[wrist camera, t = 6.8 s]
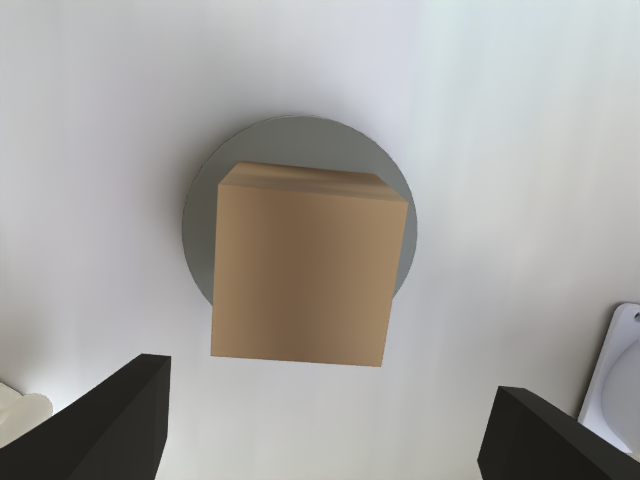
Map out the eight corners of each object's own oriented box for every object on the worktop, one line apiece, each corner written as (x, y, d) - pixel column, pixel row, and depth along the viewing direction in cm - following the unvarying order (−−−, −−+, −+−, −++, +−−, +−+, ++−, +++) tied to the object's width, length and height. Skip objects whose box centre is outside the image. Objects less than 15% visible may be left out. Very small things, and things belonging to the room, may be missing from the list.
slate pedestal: (423, 130, 18) (438, 133, 16) (386, 328, 21) (395, 351, 19) (198, 100, 18) (187, 100, 16) (188, 310, 20) (177, 332, 18)
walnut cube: (375, 174, 17) (408, 203, 12) (358, 297, 18) (381, 367, 13) (240, 160, 16) (218, 184, 12) (232, 288, 18) (210, 356, 13)
